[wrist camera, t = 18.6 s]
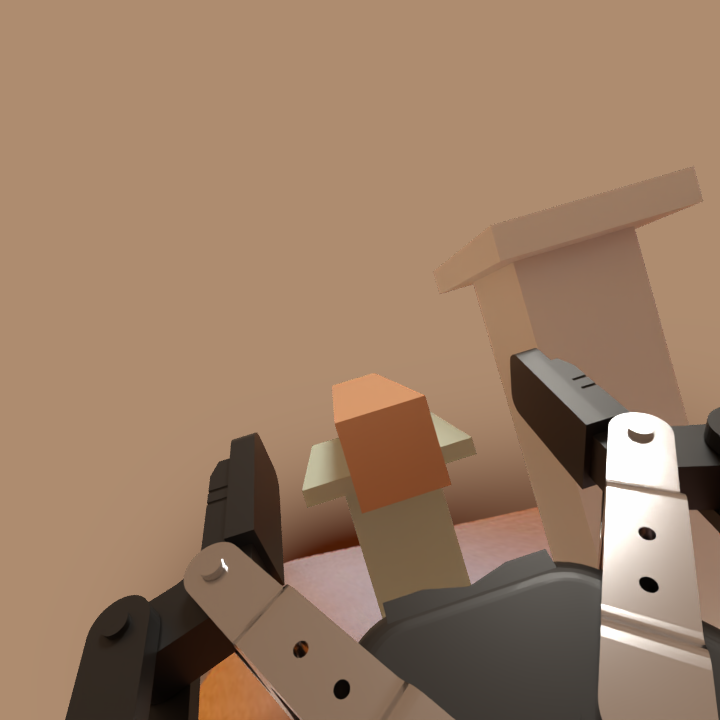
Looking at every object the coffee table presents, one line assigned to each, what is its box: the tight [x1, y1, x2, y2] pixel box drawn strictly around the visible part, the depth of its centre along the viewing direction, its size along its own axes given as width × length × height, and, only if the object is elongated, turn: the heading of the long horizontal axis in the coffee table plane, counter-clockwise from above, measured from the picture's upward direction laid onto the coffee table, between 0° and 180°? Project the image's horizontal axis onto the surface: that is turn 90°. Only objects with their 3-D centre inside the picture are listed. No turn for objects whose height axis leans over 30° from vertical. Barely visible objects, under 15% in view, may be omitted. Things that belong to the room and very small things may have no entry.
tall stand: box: [433, 167, 720, 629], centre depth 32 cm, size 14×12×32 cm
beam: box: [332, 373, 451, 514], centre depth 30 cm, size 22×4×4 cm, turn 4°
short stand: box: [302, 412, 476, 618], centre depth 32 cm, size 12×10×21 cm
